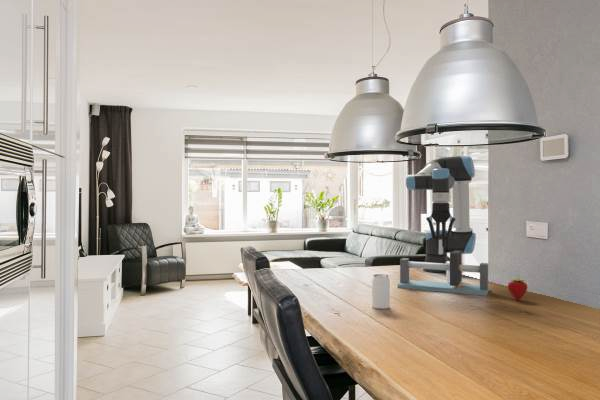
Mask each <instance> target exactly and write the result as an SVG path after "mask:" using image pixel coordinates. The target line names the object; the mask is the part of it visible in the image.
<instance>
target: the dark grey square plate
mask: <svg viewBox="0 0 600 400" xmlns="http://www.w3.org/2000/svg"><path fill="white" fill-rule="evenodd" d="M462 255H463V254H462V251H457V250H455V251H453V252H451V253H449V261H450V286H458V285H459V284H461V283H460V282H461V281H463V271H459V264H461V265H462V261H463V260H462V259H463V257H462Z"/></svg>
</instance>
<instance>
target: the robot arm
mask: <svg viewBox="0 0 600 400" xmlns="http://www.w3.org/2000/svg"><path fill="white" fill-rule="evenodd" d="M423 167H424V168H422V169H421V170H420V171H419V172H418V173H416V174H413V173H412V174H408V175H407V176H406V179H405V186H406V189H407V190H409V191H427V190H428V191H432V195H431V196H432V197H431V198H432V199H431V201H432V204H431V205H432V206H431V208H432V209H431V210H432V211H431V215H430V216H428V217H426V218H425V219H426V221H427V222H428V225H429V230H430V231H429V230H428V231H427V232H426V233H425V234H426V235H425V259H424V261H423V262H428V263H444V264H446V261H449V259H448V254H450V253H451V252H453V251H455V250H457V251H462V255H471V254H473V252H474V250H475V246H476V239H477V237H476V236H477V235H476V233H475V232H473V228H471V225H470V223H471V222H470V183H471V182H472V180H473V179H472V178H474V177H475V176H476V174H475V173H476V172H475V171H476V169H475V164H474V160H473V158H472V157H471V156H469V155H460V156H459V155H458V156H442V157H438V158H434V159H432V160H430V161H428V163H426V164H425V165H424V166H423ZM450 189H452V214H451V213H450V210H451V209H450V203H449V202H450ZM433 220H434V221H435V227H434V224H433ZM448 221H449V224H448V228H447V229H446V227H447V226H446V225H447V222H448ZM422 271H424V272H429V273H446V270H434V269H422Z"/></svg>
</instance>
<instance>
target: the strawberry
mask: <svg viewBox="0 0 600 400" xmlns="http://www.w3.org/2000/svg"><path fill="white" fill-rule="evenodd" d="M517 277H519V275H518V274H517ZM525 281H526V280H525V279H519V278H518V279H517V278H515V279H511V281H510V282H509V283H507V289H508V291H509V293H510V294H511V295H512V296H513V298H514V299H515V300H517V301H520V300H521V299H522V298H523V296H524V295H525V294H526V292H527V290H528V284H527V283H526V282H525Z"/></svg>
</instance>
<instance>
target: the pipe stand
mask: <svg viewBox="0 0 600 400" xmlns="http://www.w3.org/2000/svg"><path fill="white" fill-rule="evenodd" d="M410 269H421V270H423V269H434V270H449V271H450V264H444V263H428V262H424V261H412V260H411V261H410V258H409V257H408V258H407V257H403V258H400V259H399V274H400V275H399V283H398V284H397V288H399V289H409V290H420V291H429V290H430V292H431V291H432V292H440V291H442V293H443V292H444V293H451V292H452V293H453V294H454V293H455V294H463V295H465V294H466V295H474V296H487V295H488V293H489V291H490V286H489V263H487V262H481V263H479V265H473V264H463V265H461V264H459V271H462V273H463V272H466V273H479V285H475V284H474V285H473V284H465V283H459V285H458V286H450V283H448V282H438V281H427V280H414V279H413V280H412V279H410Z"/></svg>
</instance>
